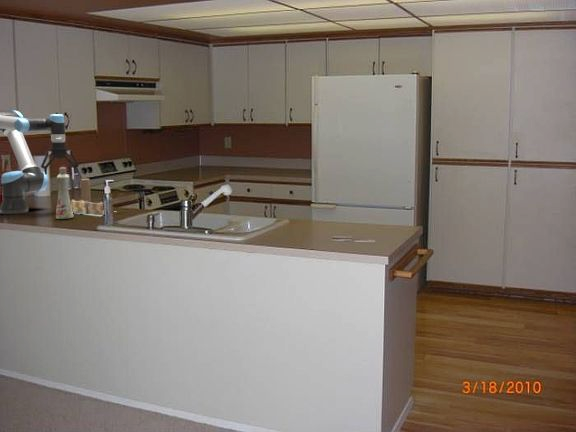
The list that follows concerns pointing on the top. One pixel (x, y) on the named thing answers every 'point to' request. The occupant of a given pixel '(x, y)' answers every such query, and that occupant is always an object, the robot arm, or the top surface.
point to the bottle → (63, 196)
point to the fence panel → (78, 206)
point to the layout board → (88, 214)
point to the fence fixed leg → (94, 208)
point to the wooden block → (85, 190)
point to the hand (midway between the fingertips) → (60, 179)
